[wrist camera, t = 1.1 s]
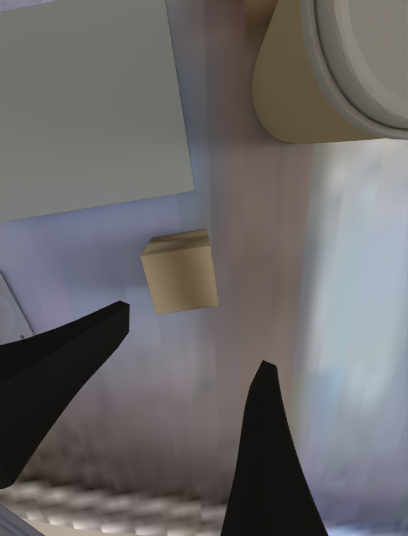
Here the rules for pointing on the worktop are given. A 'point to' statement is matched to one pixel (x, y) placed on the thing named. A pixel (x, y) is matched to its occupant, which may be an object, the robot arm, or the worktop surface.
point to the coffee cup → (334, 71)
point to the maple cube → (180, 272)
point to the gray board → (88, 107)
